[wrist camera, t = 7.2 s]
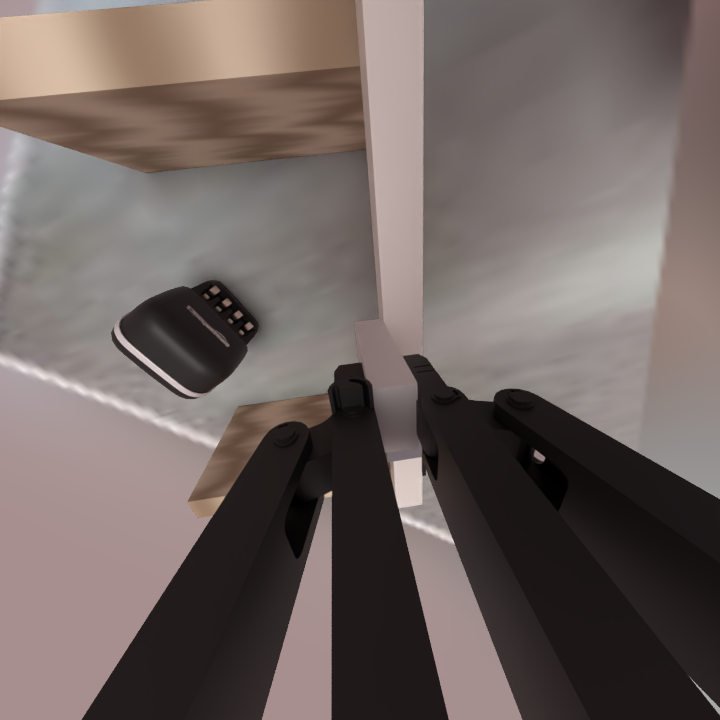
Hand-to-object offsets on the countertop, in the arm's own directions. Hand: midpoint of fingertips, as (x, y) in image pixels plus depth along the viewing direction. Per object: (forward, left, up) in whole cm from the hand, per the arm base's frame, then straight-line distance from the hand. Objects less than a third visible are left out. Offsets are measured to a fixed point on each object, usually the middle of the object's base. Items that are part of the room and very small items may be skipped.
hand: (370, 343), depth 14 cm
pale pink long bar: (-2, 0, -1) cm, 2 cm away
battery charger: (+12, 0, -14) cm, 18 cm away
